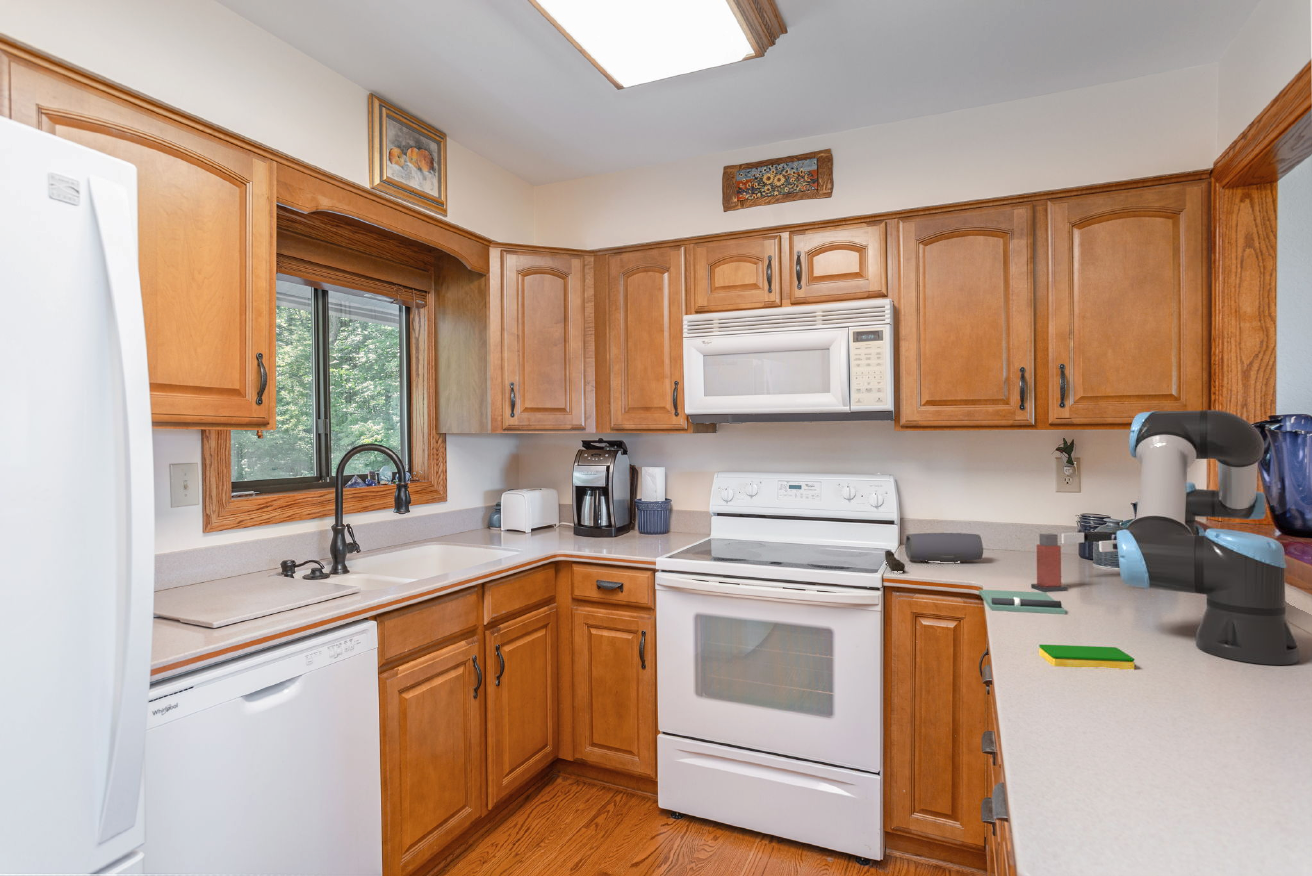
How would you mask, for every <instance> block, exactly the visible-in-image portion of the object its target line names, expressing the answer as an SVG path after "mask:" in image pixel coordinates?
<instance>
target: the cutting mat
mask: <svg viewBox="0 0 1312 876" xmlns="http://www.w3.org/2000/svg"><path fill="white" fill-rule="evenodd" d="M978 594H979V596H981V598H982V599H983V601H984V602H985V604H986V605H987V606H988V607H989V609H990V610H991V611H1001V612H1003V611H1004V612H1005V611H1006V612H1020V613H1039V614H1055V615H1056V614H1058V615H1066V609H1065V608H1064V607H1063V606H1062V605H1063V604H1062V601H1061V600H1054V598H1052V597H1051V596H1050V595H1049V593H1047V592H1042V591H1039V592H1038V591H1037V592H1036V591H1019V590H998V589H997V590H995V589H978Z"/></svg>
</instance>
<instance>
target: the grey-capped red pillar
mask: <svg viewBox="0 0 1312 876" xmlns="http://www.w3.org/2000/svg"><path fill="white" fill-rule="evenodd" d="M1058 538H1059V537H1058V534H1055V533H1050V532H1049V533H1039V539H1038V540H1039V544H1036V583H1030V584H1031V585H1030V588H1031V589H1033V590H1036V591H1039V592H1042V593H1052V592H1053V593H1055V592H1067V591H1068V586H1067V585H1063V584H1062V549H1061V547H1062V545H1058V544H1059V543H1058V542H1059V541H1058V540H1059V539H1058Z"/></svg>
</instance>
